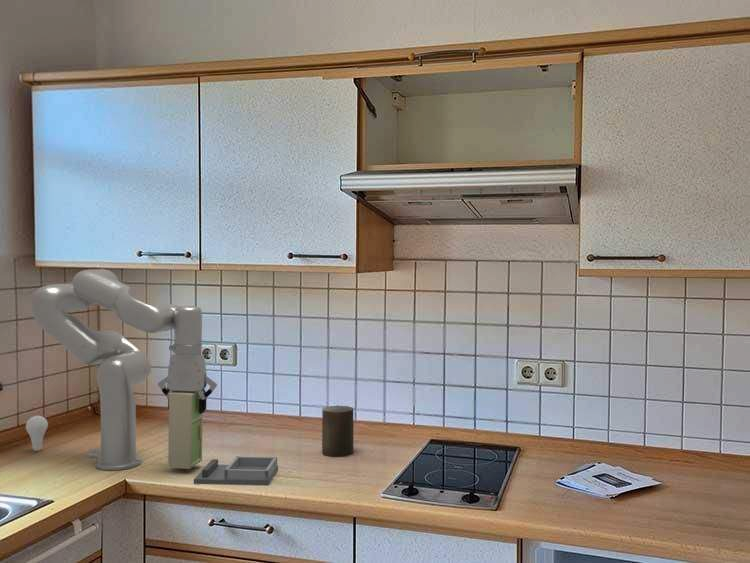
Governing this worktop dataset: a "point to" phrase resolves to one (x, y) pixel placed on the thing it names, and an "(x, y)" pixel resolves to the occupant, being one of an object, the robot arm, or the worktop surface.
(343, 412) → the pillar candle
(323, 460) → the worktop surface
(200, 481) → the tray
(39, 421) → the lightbulb
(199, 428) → the beige tall block
